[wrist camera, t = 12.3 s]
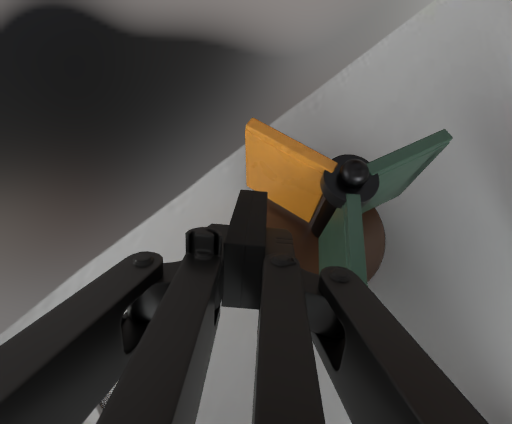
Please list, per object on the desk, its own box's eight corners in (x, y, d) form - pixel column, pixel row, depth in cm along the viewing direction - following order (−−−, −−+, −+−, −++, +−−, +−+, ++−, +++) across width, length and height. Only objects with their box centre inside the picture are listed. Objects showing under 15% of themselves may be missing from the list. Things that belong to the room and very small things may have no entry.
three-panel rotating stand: (370, 339, 25) (450, 332, 15) (209, 283, 26) (185, 242, 16) (395, 194, 30) (466, 117, 20) (260, 154, 32) (265, 66, 22)
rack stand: (404, 232, 30) (410, 227, 29) (330, 329, 26) (333, 328, 25) (308, 161, 33) (310, 154, 32) (230, 238, 30) (229, 234, 29)
